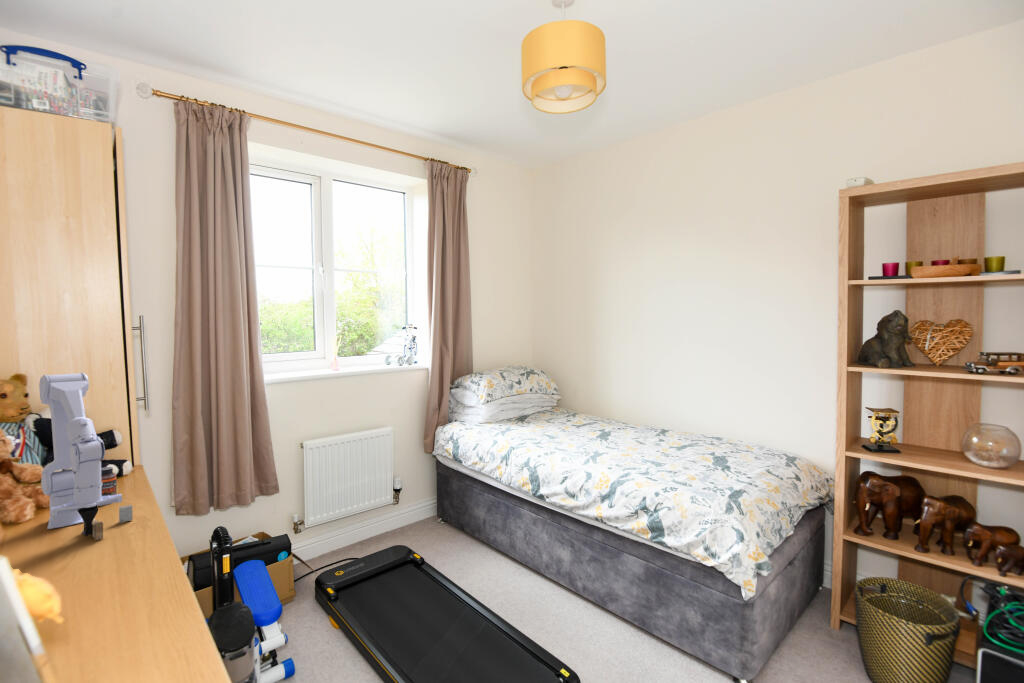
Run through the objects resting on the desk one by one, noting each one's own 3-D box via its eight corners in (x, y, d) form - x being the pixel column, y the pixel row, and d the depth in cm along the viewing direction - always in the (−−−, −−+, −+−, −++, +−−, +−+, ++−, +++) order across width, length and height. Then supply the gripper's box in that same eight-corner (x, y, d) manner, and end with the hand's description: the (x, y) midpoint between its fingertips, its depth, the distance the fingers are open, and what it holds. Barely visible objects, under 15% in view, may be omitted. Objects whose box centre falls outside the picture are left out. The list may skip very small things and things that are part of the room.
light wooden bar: (87, 533, 136) (87, 518, 136) (94, 531, 137) (94, 516, 137) (96, 540, 131) (95, 524, 131) (103, 538, 132) (103, 522, 132)
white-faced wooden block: (119, 522, 144) (119, 507, 144) (132, 519, 146) (131, 504, 146) (119, 523, 143) (119, 508, 143) (132, 520, 145) (132, 506, 145)
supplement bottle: (103, 506, 157) (102, 471, 156) (88, 505, 158) (87, 470, 158) (121, 500, 163) (120, 466, 162) (107, 498, 164) (106, 465, 163)
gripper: (53, 495, 125) (54, 547, 125) (124, 482, 136) (125, 530, 136) (49, 489, 129) (50, 539, 130) (118, 476, 140) (119, 523, 141)
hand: (88, 534), depth 133 cm, fingers closed, pressing on light wooden bar
